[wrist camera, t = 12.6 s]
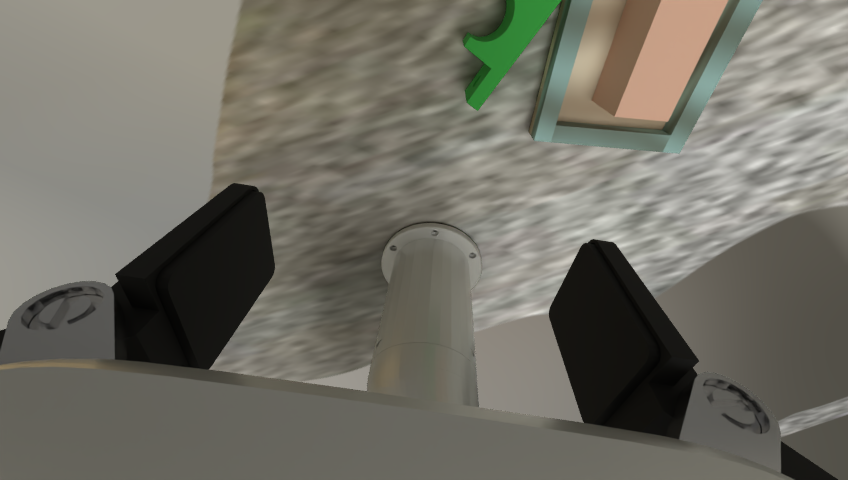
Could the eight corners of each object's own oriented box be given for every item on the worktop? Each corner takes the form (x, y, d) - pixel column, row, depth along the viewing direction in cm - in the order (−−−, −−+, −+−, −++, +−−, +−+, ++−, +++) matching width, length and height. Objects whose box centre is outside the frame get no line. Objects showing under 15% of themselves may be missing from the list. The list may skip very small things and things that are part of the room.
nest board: (664, 143, 32) (679, 153, 30) (528, 131, 32) (534, 140, 30) (793, -111, 22) (828, -122, 20) (593, -126, 22) (608, -139, 20)
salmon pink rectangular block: (702, -46, 23) (756, -56, 19) (637, 104, 29) (668, 121, 25) (644, -51, 23) (686, -62, 19) (591, 100, 29) (614, 116, 25)
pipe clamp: (532, -69, 24) (548, -83, 20) (568, -32, 25) (590, -38, 21) (441, 73, 29) (440, 82, 26) (474, 98, 31) (477, 111, 27)
